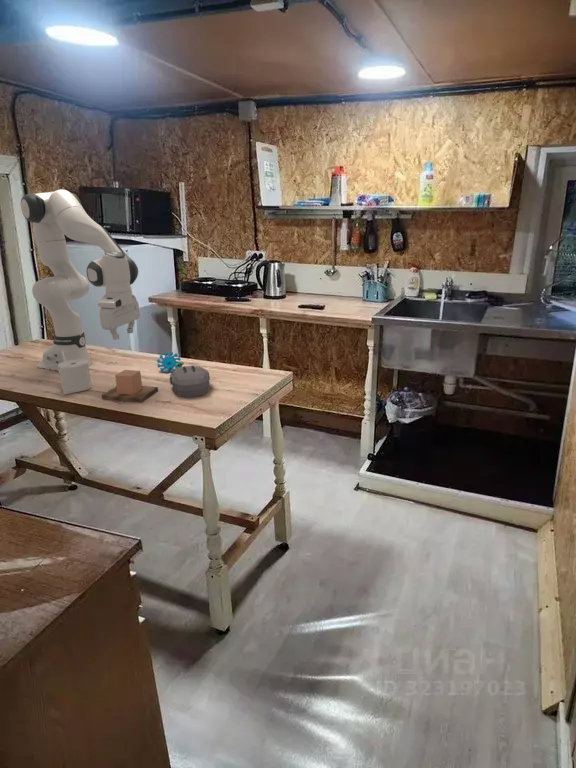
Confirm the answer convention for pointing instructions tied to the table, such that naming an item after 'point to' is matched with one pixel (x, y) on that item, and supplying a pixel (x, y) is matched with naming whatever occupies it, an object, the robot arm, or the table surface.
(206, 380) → the small grey backpack
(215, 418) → the table surface
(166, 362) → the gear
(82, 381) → the toilet tissue
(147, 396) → the stub plate
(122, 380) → the salmon orange block
